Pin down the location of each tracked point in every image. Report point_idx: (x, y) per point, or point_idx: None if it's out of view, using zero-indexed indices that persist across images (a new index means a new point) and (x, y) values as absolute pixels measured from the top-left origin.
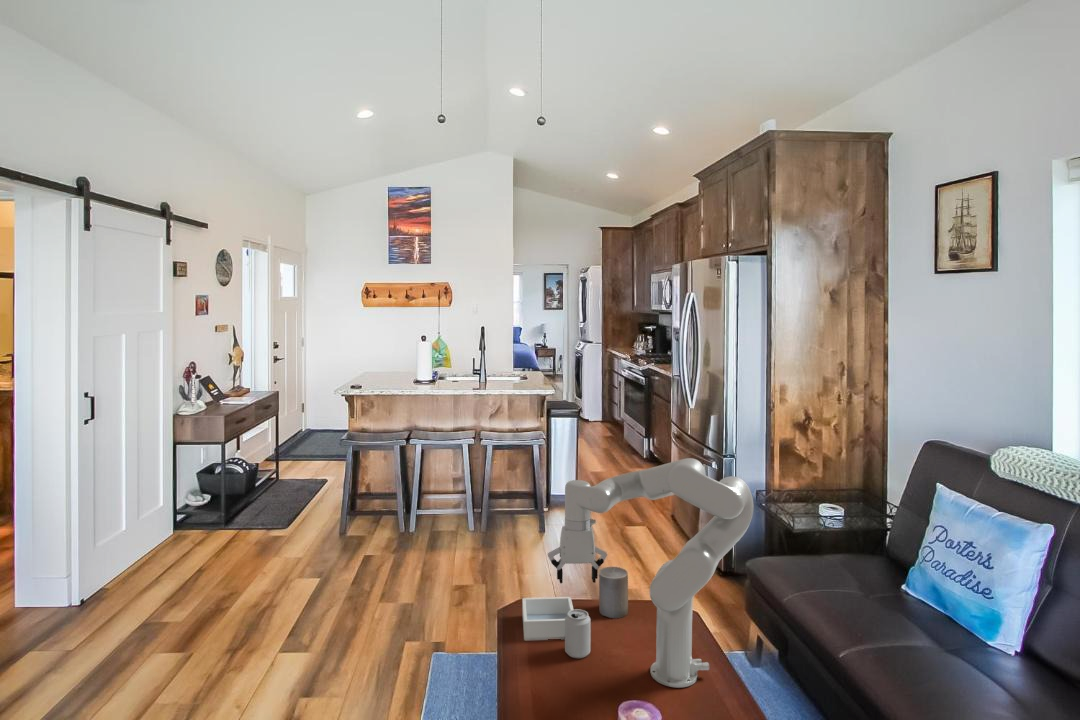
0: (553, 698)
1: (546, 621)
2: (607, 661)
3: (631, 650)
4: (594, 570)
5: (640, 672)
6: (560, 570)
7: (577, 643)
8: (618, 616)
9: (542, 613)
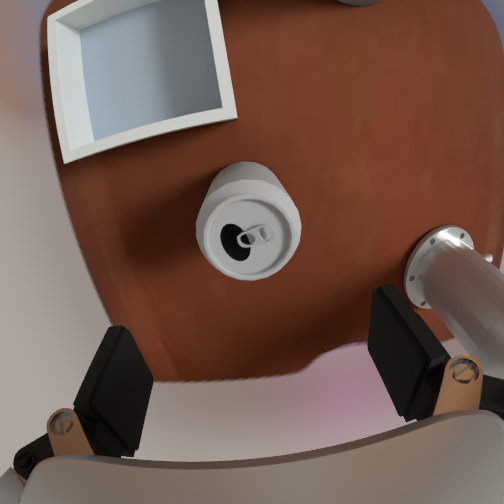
0: (208, 357)
1: (129, 141)
2: (324, 229)
3: (388, 174)
4: (408, 415)
5: (387, 265)
6: (123, 455)
7: (247, 249)
8: (365, 4)
9: (124, 10)
